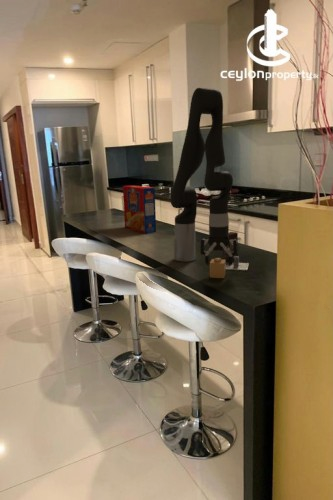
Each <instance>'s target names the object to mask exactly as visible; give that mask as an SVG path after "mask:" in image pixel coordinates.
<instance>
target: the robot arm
mask: <svg viewBox="0 0 333 500" xmlns="http://www.w3.org/2000/svg"><path fill="white" fill-rule="evenodd" d="M202 115H210V116H211V127H210V129H209V132H208V134H207V136H206V138H205V140H204V137H203V134H202V131H201V119H202V118H201V117H202ZM223 122H224V99H223V94H222V92H221V91H220V90H219V89H216V88H208V87H206V88H205V87H197V88H195V90H194V91H193V93H192V96H191V101H190V107H189V114H188V120H187V126H186V127H187V128H186V133H185V137H184V141H183V145H182V149H181V154H180V159H179V165H178V168H177V171H176V175H175V179H174V182H173V185H172V188H171V191H170V192H171V193H170V198H169V201H170V204H171V207H173V208H174V209H182V212H181V213H179V214H177V215H176V216H174V240H173V250H174V251H173V255H174V257H173V258H174V261H178V262H181V263H182V262H185V263H186V262H194V261H195V260H196V257H197V256H196V217H197V209H198V208H197V206H198V195H197V191H196V189H195V187H193V186H187V184H188V182H189V180H190V179H191V178H192V177H193V175H194V174H195V173H196V172H197V170H198V169H199V168H200V167H201V165H202V162H203V159H204V156H205V159H206V164H205V165H206V168H205V175H204V186H205V188H206V190H207V191H208V192H217V191H219V192H220V193H219V195H217V196H213V197H211V198H210V199H209V205H208V206H209V215H208V216H209V218H208V238H207V239H206V238H204V237H203V238H202V239H201V241H200V255H203V256H205V257H204V261H205V264H206V266H210V254H211V252H212V251H216V252H217V251H221V252H223V250H225V251H226V252H227V253H228V255H229V260H228V262H229V266H231V264H232V263H234V259H233V256H234V255H237V253H239V251H238V250H239V249H238V250H237V239H234V240H230V239H229V232H230V229H229V228H230V227H229V225H230V222H229V220H230V219H229V199H230V196H231V195H230V194H231V190H232V187H233V184H234V183H233V182H234V180H233V179H234V178H233V175H232V174H231V173H230V172H229V171H215V169H216V168H220V167H222V166H224V165H225V163H226V155H225V149H224V139H223ZM207 243H208V245H209V246H210V247H209V248H208V250H207V251H205V247H206V244H207ZM229 243H231V244H232V245H233V246H234V252H232V251H231V250H230V248H229V247H228V244H229Z"/></svg>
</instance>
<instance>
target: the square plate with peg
mask: <svg viewBox="0 0 333 500" xmlns="http://www.w3.org/2000/svg"><path fill="white" fill-rule="evenodd" d="M249 264H250V263H249V262H240V256H239V255H238V256H234V259H233V263H232V264H231V266H229V261H226V271H243V272H245V271H247V272H248V268H249Z"/></svg>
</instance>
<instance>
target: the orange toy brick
mask: <svg viewBox="0 0 333 500" xmlns="http://www.w3.org/2000/svg"><path fill="white" fill-rule="evenodd" d="M209 262H210V263H209V278H213V279H225V276H226V271H227V270H226V262H227V260H226V259H222V258H221V257H214V258H211V260H209Z"/></svg>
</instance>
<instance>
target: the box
mask: <svg viewBox="0 0 333 500" xmlns="http://www.w3.org/2000/svg"><path fill="white" fill-rule="evenodd" d="M238 234H239V233H238V232H234V231H229V239H230V240H234V239H237V250H239V249H238V248H239V247H238V245H239V244H238V239H239V237H238ZM228 247H229V248H230V250H231V251H232V252H234V246H233V245H232V244H231V243H229V244H228ZM238 253H239V252H238ZM238 253H237V255H234V256H239V254H238ZM234 256H233V260H234ZM222 260H226V261H229V255H228V253H227V252H226V251H225V250H223V251H222Z"/></svg>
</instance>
